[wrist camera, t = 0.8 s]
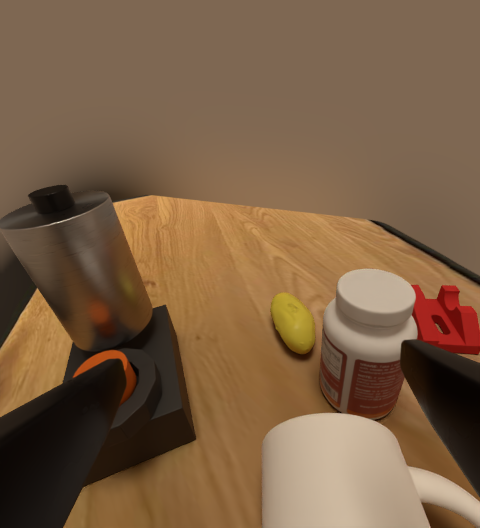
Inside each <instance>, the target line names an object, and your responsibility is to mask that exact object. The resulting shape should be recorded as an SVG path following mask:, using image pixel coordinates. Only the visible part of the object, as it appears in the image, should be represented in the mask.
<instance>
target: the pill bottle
mask: <svg viewBox="0 0 480 528" xmlns="http://www.w3.org/2000/svg"><path fill="white" fill-rule="evenodd" d="M415 300H416V295H415V291H414V289H413V287H412V286H411V285H410V284H409V283H408V282H407V281H406V280H404V279H403V278H401V277H399V276H397V275H395V274H393V273H390V272H387V271H383V270H377V269H358V270H354V271H350V272H348V273H346V274H344V275H343V276H342V277H341V278H340V279H339V281H338V284H337V290H336V298H334V299H333V300H332V301H331V302H330V303H329V304H328V306H327V307H326V309H325V312H324V317H323V330H322V347H321V363H320V385H321V389H322V391H323V393H324V395H325V397H326V398H327V400H328V401H329V402H330V404H331V405H332V406H333V407H335V408H336V409H337V410H339V411H340V412H342V413H343V414H351V415H356V416H361V417H365V418H368V419H371V420H375V419H379V418H381V417H384V416H385V415H387V414H388V413H389V412H390V411H391V410H392V409H393V407H394V405H395V403H396V401H397V398H398V395H399V392H400V390H401V387H402V384H403V381H404V378H405V377H404V375H403V373H402V371H401V367H400V352H401V343H402V341H403V340H410V339H417V335H418V331H417V326H416V323H415V320H414V318H413V317H412V312H413V307H414V304H415Z"/></svg>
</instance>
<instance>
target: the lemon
mask: <svg viewBox="0 0 480 528" xmlns="http://www.w3.org/2000/svg"><path fill="white" fill-rule="evenodd" d="M270 312H271V316H272V319H273V321H274V324H275V325H276V327H275V329H276V330H277V331H278V332H279V333H280V335H281V337H282V339H283V341H284V342H285V344H286V345H287V346H288V347H289V348H290V349H291V350H292V351H294V352H296V353H298V354H306V353H308V352H309V351H310V350H311V349H312V348H313V346H314V343H315V323H314V319H313V316H312V314H311V313H310V311H309V310H308V309H307V308H306V307H305V305H304V304H303V303H302V302H301V301H300V300H299V299H297V298H296V297H294V296H293V295H291V294H289V293H279V294H277V295H276V296H275V297H274V298H273V300H272V303H271V310H270Z"/></svg>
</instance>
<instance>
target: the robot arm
mask: <svg viewBox="0 0 480 528" xmlns="http://www.w3.org/2000/svg"><path fill="white" fill-rule="evenodd" d="M400 367H401V371H402V373H403V375H404V377H405V378H406V380H407V382H408V384H409V386H410V388H411V390H412V391H413V393H414V395H415V397H416V399H417V401H418V403H419V405H420V406H421V408H422V410H423V412H424V414H425V415H426V417H427V419H428V420H429V422H430V424H431V425H432V427H433V428H434V430H435V431H436V433H437V434H438V436H439V437H440V439H441V440H442V442H443V443H444V445H445V446H446V448H447V449H448V451H449V452H450V454H451V455H452V457H453V458H454V460H455V461H456V463H457V464H458V466H459V467H460V469H461V470H462V472H463V473H464V475H465V476H466V478H467V479H468V481H469V482H470V484H471V485H472V487H473V488H474V490H475V491H476V493H477V494H478V496H479V497H480V363H478V362H475V361H473V360H470V359H468V358H465V357H462V356H460V355H457V354H455V353H452V352H449V351H447V350H444V349H441V348H439V347H436V346H434V345H431V344H428V343H426V342H423V341H421V340H418V339H410V340H403V341H402V343H401V352H400ZM126 386H127V378H126V374H125V370H124V366H123V362H122V360H121V359H119V358H115V359H107V360H105V361H103V362H101V363H99V364H98V365H96V366H94V367H92V368H90V369H88V370H87V371H85V372H83V373H81V374H79V375H77V376H76V377H74V378H72V379H70V380H68V381H66V382H65V383H63V384H61V385H59V386H57V387H55V388H53V389H52V390H50V391H48V392H46V393H44V394H42V395H41V396H39V397H37V398H35V399H33V400H31V401H30V402H28V403H26V404H24V405H22V406H20V407H18V408H17V409H15V410H13V411H11V412H9V413H7V414H6V415H4V416H2V417H0V528H63V527H64V525H65V523H66V520H67V518H68V516H69V514H70V512H71V510H72V508H73V506H74V504H75V502H76V500H77V498H78V496H79V494H80V492H81V490H82V488H83V485H84V483H85V481H86V479H87V477H88V475H89V473H90V471H91V469H92V467H93V465H94V463H95V461H96V459H97V457H98V455H99V452H100V450H101V448H102V446H103V444H104V442H105V440H106V438H107V436H108V434H109V431H110V429H111V426H112V424H113V421H114V418H115V416H116V413H117V410H118V408H119V405H120V402H121V400H122V397H123V394H124V392H125V389H126Z"/></svg>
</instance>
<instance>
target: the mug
mask: <svg viewBox="0 0 480 528" xmlns="http://www.w3.org/2000/svg"><path fill="white" fill-rule="evenodd" d="M421 502H424V503H429V504H433V505H437V506H440V507H443V508H445V509H448V510H450V511H453V512H455V513H457V514H458V515H460V516H462V517H464V518H465V519H467V520H468V521H469V522H471V523H472V524H473V525H474V526H475V527H476V528H480V502H479V501H478V500H477V499H476V498H474V497H473V496H472V495H471V494H469V493H468V492H467V491H465V490H464V489H462V488H461V487H460V486H458V485H456V484H455V483H453V482H451V481H450V480H448V479H446V478H444V477H442V476H440V475H438V474H435V473H432V472H430V471H427V470H423V469H419V468H415V467H410V466H407V465H406V462H405V459H404V457H403V454H402V452H401V449H400V446H399V444H398V441H397V439H396V437H395V436H394V434H393V433H392V432H391V431H390V430H389V429H388V428H386V427H385V426H383V425H382V424H380V423H378V422H376V421H373V420H371V419H368V418H365V417H361V416H356V415H351V414H342V413H319V414H310V415H304V416H300V417H296V418H293V419H290V420H287V421H285V422H282V423H280V424H279V425H277V426H275V427H274V428H273V429H271V430H270V431H269V432H268V433H267V435H266V436H265V438H264V440H263V443H262V528H431V527H430V524H429V522H428V519H427V517H426V514H425V511H424V509H423V506H422V504H421Z"/></svg>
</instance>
